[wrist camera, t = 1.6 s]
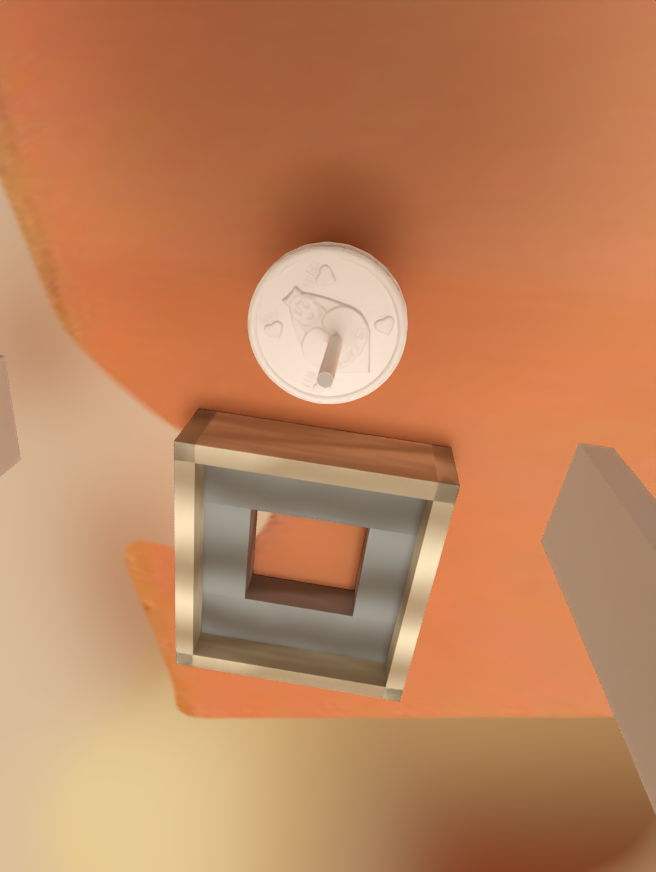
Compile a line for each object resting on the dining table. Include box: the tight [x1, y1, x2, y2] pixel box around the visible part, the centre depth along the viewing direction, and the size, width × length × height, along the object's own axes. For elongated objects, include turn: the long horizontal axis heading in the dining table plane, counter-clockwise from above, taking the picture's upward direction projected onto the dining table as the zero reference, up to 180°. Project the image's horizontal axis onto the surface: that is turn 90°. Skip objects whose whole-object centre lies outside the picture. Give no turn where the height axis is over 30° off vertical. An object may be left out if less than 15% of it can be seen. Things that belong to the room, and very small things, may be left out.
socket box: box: [174, 409, 460, 701], centre depth 36 cm, size 18×16×4 cm
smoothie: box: [248, 241, 408, 404], centre depth 23 cm, size 6×6×14 cm
